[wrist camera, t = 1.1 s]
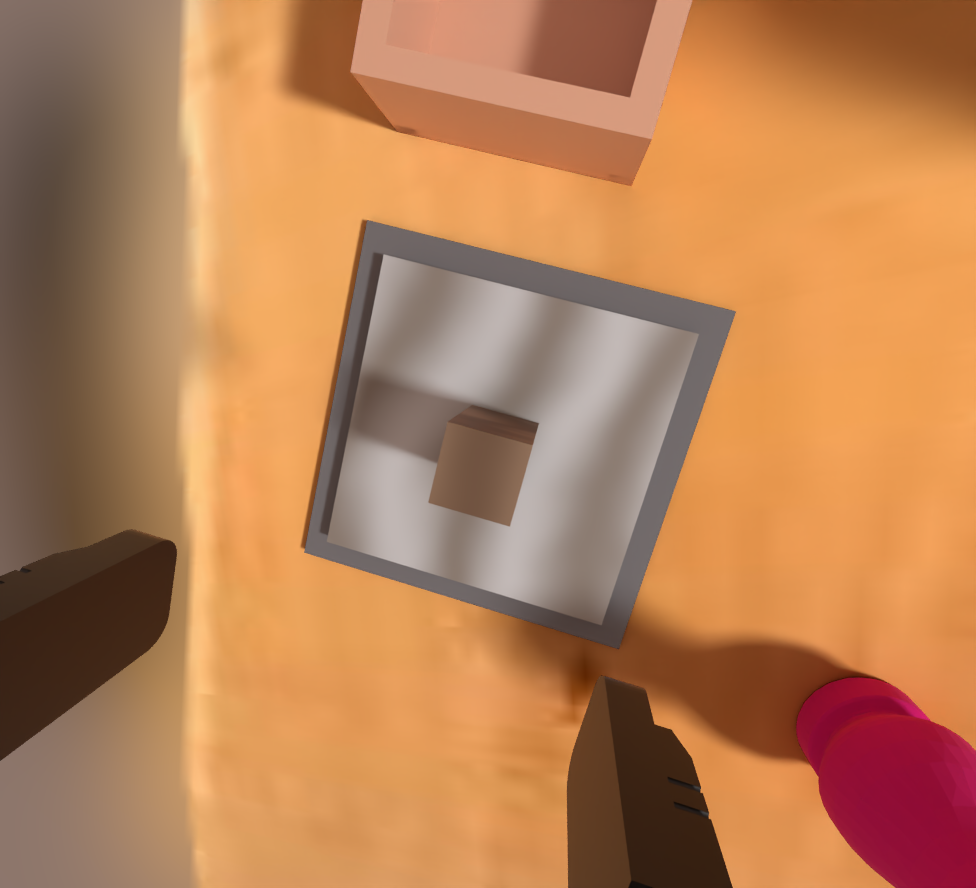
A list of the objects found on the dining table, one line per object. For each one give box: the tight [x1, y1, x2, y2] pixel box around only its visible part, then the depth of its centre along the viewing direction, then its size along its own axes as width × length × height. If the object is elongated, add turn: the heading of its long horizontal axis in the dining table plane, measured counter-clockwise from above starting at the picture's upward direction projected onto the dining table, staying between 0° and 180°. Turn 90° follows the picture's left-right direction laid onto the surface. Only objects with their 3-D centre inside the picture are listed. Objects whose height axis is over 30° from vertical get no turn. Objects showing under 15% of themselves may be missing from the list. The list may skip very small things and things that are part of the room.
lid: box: [327, 255, 699, 625], centre depth 25 cm, size 16×16×7 cm
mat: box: [304, 220, 736, 649], centre depth 29 cm, size 19×19×1 cm
